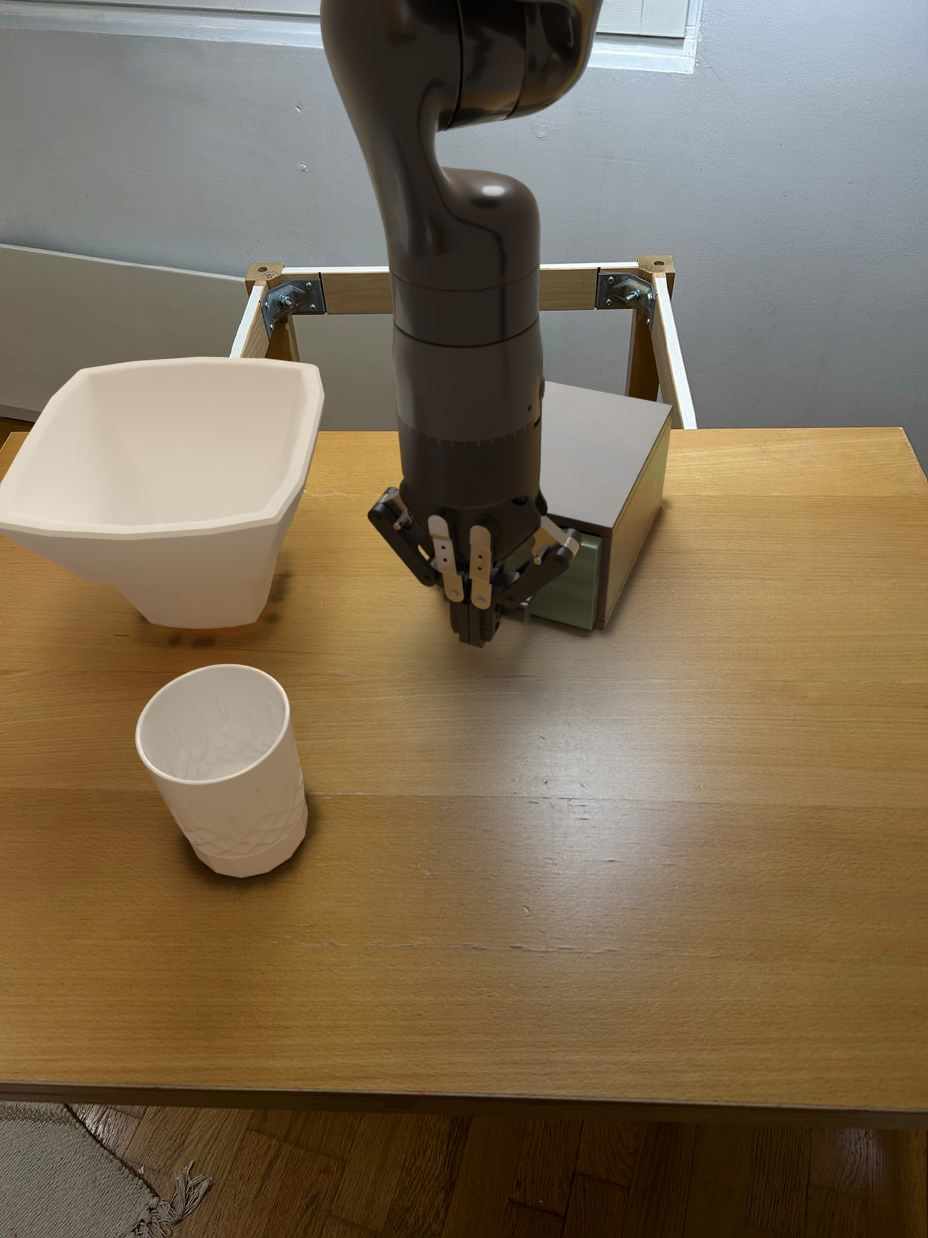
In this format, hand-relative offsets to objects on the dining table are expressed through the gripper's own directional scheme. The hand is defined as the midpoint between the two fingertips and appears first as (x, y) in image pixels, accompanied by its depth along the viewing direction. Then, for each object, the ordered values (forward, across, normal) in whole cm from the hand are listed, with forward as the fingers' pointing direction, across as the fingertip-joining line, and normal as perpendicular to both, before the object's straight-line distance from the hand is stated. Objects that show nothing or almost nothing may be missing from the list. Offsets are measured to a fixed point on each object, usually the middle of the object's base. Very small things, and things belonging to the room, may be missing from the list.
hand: (476, 636), depth 62 cm
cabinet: (+4, 0, +15) cm, 15 cm away
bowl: (+4, -21, +1) cm, 21 cm away
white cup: (+5, -8, -15) cm, 18 cm away
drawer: (+3, 0, +10) cm, 11 cm away
